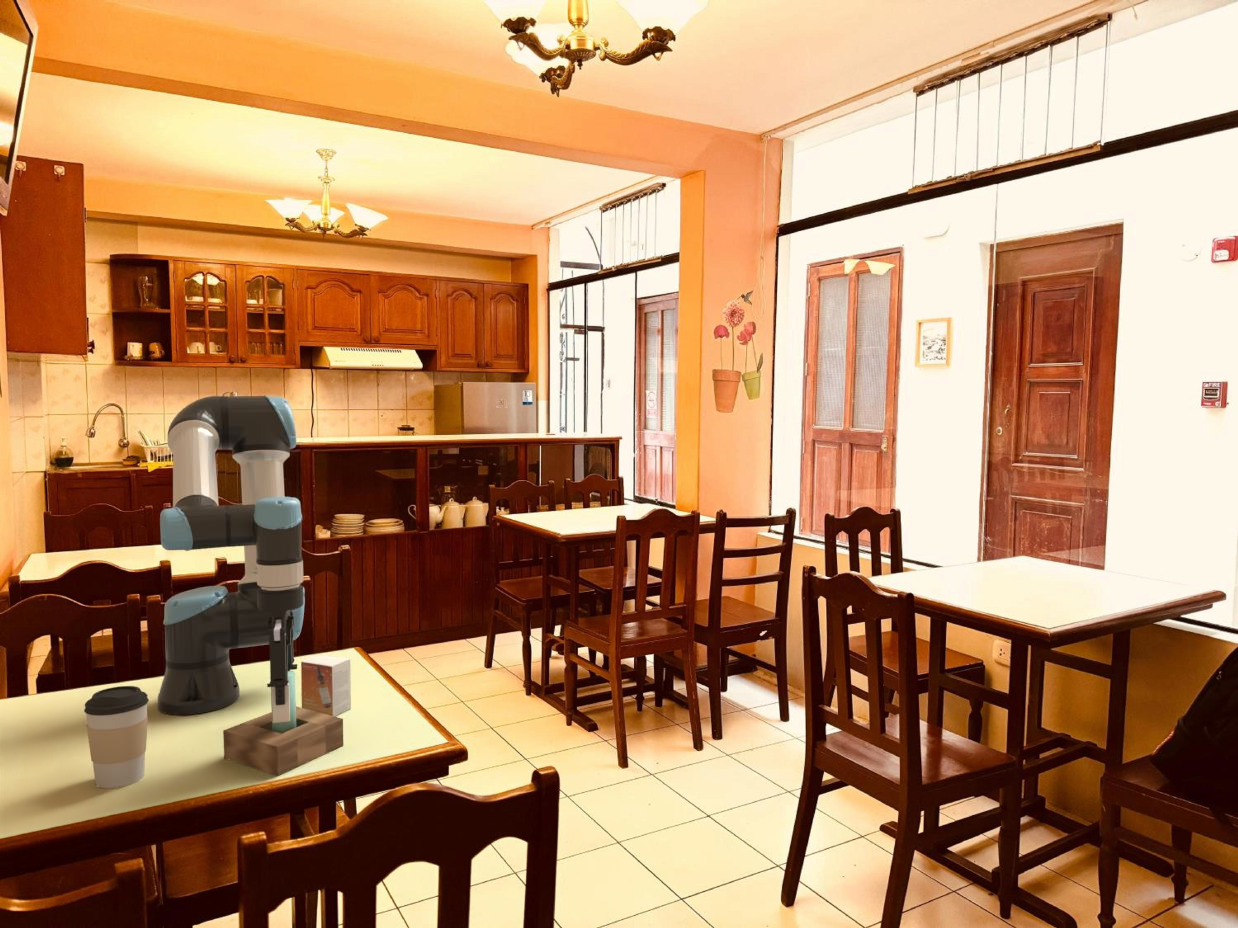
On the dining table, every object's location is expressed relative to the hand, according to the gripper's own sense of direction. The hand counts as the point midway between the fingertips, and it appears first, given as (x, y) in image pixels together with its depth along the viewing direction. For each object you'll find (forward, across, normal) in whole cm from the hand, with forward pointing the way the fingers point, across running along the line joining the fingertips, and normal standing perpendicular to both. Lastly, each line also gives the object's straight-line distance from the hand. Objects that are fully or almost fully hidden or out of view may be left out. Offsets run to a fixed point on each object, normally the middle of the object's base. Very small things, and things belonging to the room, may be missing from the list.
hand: (283, 713), depth 146 cm
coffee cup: (+7, +4, -25) cm, 26 cm away
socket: (+7, 0, 0) cm, 7 cm away
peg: (+7, 0, 0) cm, 7 cm away
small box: (+7, -19, +6) cm, 21 cm away
